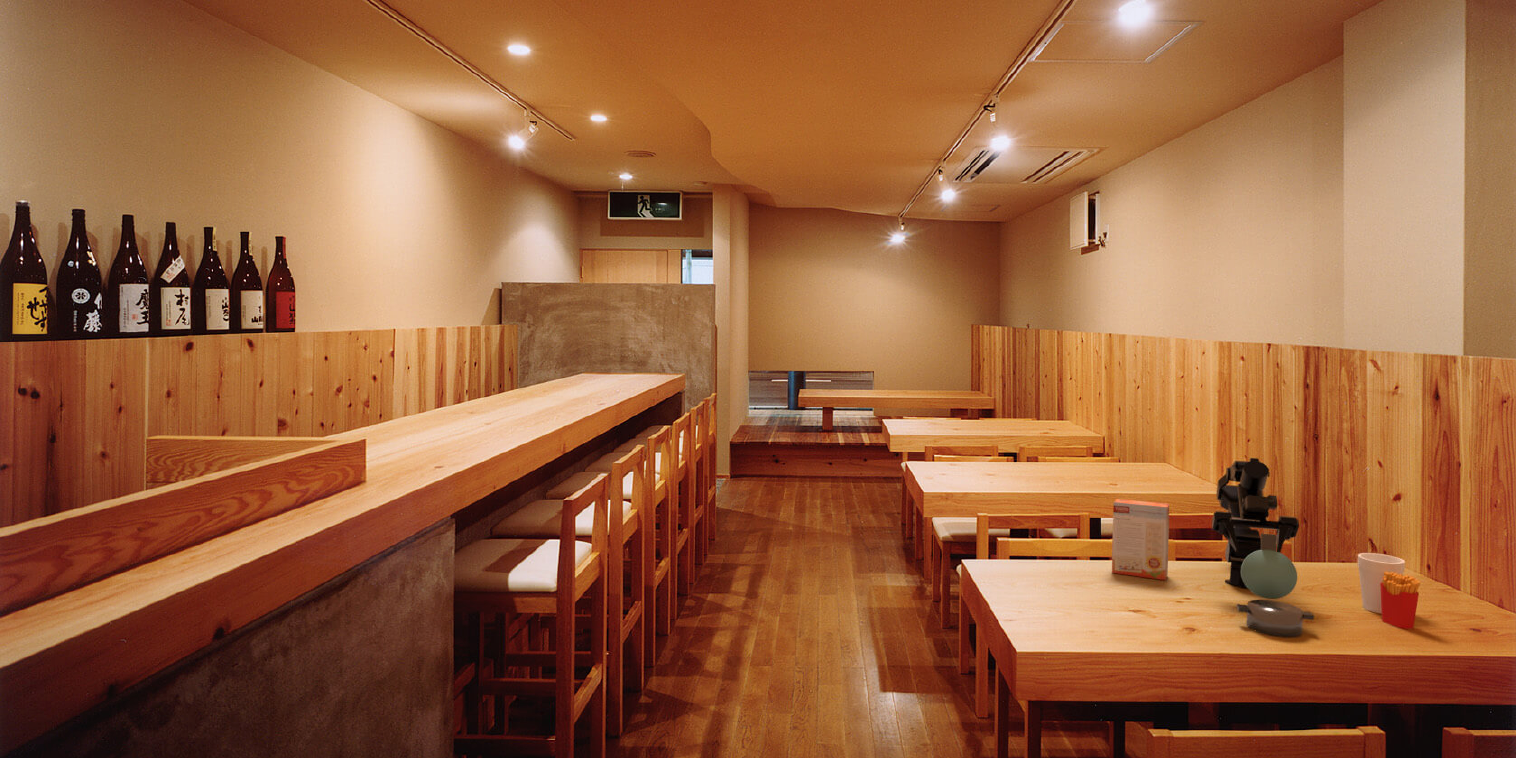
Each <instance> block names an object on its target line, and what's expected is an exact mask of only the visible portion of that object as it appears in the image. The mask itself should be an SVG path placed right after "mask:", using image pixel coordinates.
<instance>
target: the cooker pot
mask: <svg viewBox="0 0 1516 758" xmlns="http://www.w3.org/2000/svg"><path fill="white" fill-rule="evenodd" d="M1246 604H1247V605H1246ZM1246 604H1239V603H1236V609H1237V611H1238V612H1239V613H1246V626H1247V628H1249V629H1250V630H1252V629H1253V630H1252V631H1254V630H1256V631H1255V632H1257V631H1258V632H1257V633H1260V634H1263V633H1264V634H1263V635H1266V634H1267V635H1266V636H1272V637H1279V638H1299V637H1301V636H1302V635H1303V624H1304V623H1303V621H1304V620H1312V621H1313V620H1314V619H1315V615H1314V614H1313V613H1312V612H1311V611H1307V610H1302V609H1301V608H1300V607H1298V606H1296V605H1293V604H1290V603H1287V602H1282V601H1279V600H1277V601H1276V600H1273V599H1252V600H1249V601H1248V602H1247V603H1246ZM1300 635H1301V636H1300Z"/></svg>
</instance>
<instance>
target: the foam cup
mask: <svg viewBox="0 0 1516 758" xmlns="http://www.w3.org/2000/svg"><path fill="white" fill-rule="evenodd" d="M1357 566H1358V573H1359V584H1360V592H1361V601H1362V603H1361V604H1362V608H1363V609H1364V610H1367V611H1369V612H1372V613H1377V614H1382V610H1381V586H1380V583H1383V576H1384V572H1389V573H1390V572H1394V573H1398V574H1402V575H1403V576H1404V573H1405V571H1406V570H1405V569H1406V561H1405V559H1402V558H1400V557H1397V556H1394V555H1388V554H1382V553H1375V552H1374V553H1373V552H1362V553H1361V552H1360V553H1357Z"/></svg>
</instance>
